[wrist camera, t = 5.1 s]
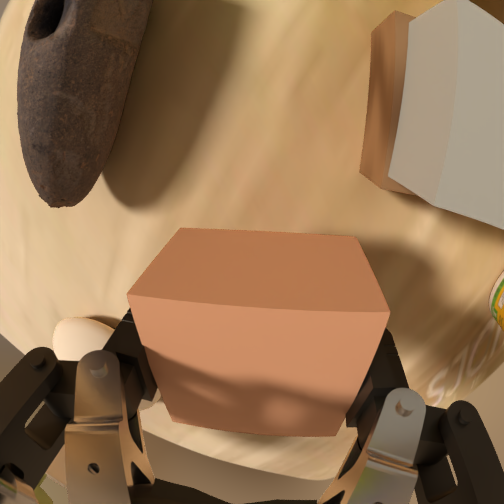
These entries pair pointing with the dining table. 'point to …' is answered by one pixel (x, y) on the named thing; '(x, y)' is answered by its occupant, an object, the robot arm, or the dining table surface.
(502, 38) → the tower top
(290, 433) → the clay block
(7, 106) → the dining table surface
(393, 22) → the tower base
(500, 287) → the supplement bottle
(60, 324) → the flower in vase
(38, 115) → the perforated stone tool
